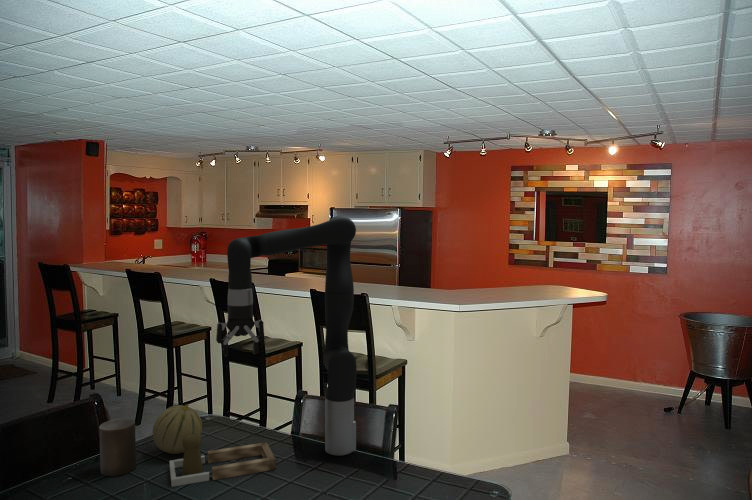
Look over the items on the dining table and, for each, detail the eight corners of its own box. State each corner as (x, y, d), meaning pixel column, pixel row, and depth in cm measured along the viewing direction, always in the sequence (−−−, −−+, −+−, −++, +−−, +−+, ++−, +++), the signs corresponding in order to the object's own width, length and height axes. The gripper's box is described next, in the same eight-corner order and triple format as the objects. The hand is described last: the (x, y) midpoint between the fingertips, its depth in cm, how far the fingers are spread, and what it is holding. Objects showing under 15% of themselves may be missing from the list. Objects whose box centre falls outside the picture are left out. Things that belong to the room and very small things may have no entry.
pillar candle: (142, 468, 162) (141, 419, 161) (107, 480, 154) (106, 427, 154) (128, 459, 168) (127, 411, 168) (94, 469, 161) (93, 419, 160)
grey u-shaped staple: (204, 461, 167) (204, 455, 167) (209, 480, 155) (209, 473, 155) (169, 467, 163) (169, 460, 163) (171, 486, 151) (171, 479, 151)
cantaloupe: (146, 451, 174) (145, 404, 173) (190, 438, 184) (190, 395, 183) (164, 466, 163) (163, 417, 162) (210, 452, 173) (209, 406, 172)
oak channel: (266, 451, 174) (266, 442, 174) (275, 469, 162) (275, 459, 162) (207, 460, 167) (207, 451, 167) (212, 480, 155) (212, 469, 155)
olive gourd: (196, 479, 155) (195, 441, 155) (177, 476, 157) (176, 439, 156) (207, 469, 161) (206, 433, 161) (188, 467, 163) (188, 431, 162)
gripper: (261, 300, 174) (261, 350, 175) (214, 302, 169) (215, 354, 169) (265, 303, 167) (266, 355, 168) (217, 306, 162) (218, 360, 163)
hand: (240, 355), depth 169 cm, fingers open, 8 cm apart
